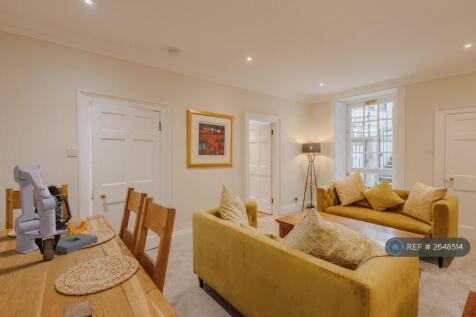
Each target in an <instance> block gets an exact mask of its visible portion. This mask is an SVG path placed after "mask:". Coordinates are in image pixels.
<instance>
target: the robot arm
mask: <svg viewBox="0 0 476 317" xmlns="http://www.w3.org/2000/svg"><path fill="white" fill-rule="evenodd" d="M12 173H13V181H14V182H15V183H18V186H19V195H20V207H21V208H20V209H21V214H20V215H19V216H17V218H16V219H15V220H14V225H13V226H14V227H13V228H14V229H13V230H14V233H15V234H17V236H16V237H15V242H16V244H15V247H16V249H13V251H14V252H17V253H21V254H27V253H31V252H33V251H37V250H39V252H40V255H41V256H43V239H48V238H54V253H56V252H57V251H56V247H57V244H58V241H59V239H61V236H62V235H67V229H65V230H56V225H55V209H56V208H57V205H58V203H57V199H56V198H55V197H54V196H51V194H50V192H49V190H48V186H46V185H44V184H43V180H42V178H41V177H42V175H43V167H42V166H41V164H30V165H28V164H27V165H15V166H14V168H13V172H12ZM34 199H36V200H35V201H36V202H37V205H36V204H35V203H34ZM35 207H37V210H38V214H36V213H34V211H35ZM33 218H35V219H33ZM38 231H40V233H39V234H38Z"/></svg>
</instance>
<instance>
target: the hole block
mask: <svg viewBox="0 0 476 317" xmlns="http://www.w3.org/2000/svg"><path fill="white" fill-rule="evenodd" d="M97 241H98V242H99V236H96V235H91V234H87V233H77V234H74V235H71V236H68V237H67V236H65V237H62V238H60V239H59V241H58V244H57V247H56V252H59V253H62V254H65V255H66V254H68V255H69V254H71V253H73V252H76V251H78V250H81V249H83V248H82V247H84V246H86V247H88V246H87V245H89V246H91V245H93V244H92V243H94V244H96V243H98V242H97ZM95 242H96V243H95ZM90 244H91V245H90ZM84 248H85V247H84Z"/></svg>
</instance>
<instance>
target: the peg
mask: <svg viewBox="0 0 476 317" xmlns="http://www.w3.org/2000/svg"><path fill="white" fill-rule="evenodd" d="M42 246H43V254H42V261H50V260H53V259H54V258H55V252H54V237H47V238H43V239H42Z"/></svg>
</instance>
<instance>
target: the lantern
mask: <svg viewBox="0 0 476 317" xmlns="http://www.w3.org/2000/svg"><path fill="white" fill-rule="evenodd" d="M47 188H48V190H49V192H50V194H51V196H54V197H55V198H56V199H57V203H58V205H57V208H56V209H55V225H56V230H65V229H67V226H69V225H68V224H67V223H69V222H70V220H71V219H72V218H73V215H72V212H71V207H70V204H69V198H68V197H69V195H68V194H65V196H63V194H62V193H61V191H59V188H58V186H57V185H49V186H47ZM34 199H35V198H34ZM35 201H36V199H35ZM63 203H64V204H65V209H66V214H65V215H62V211H63V210H62V207H63ZM36 205H37V201H36V203H35V206H34V213H36V214H38V210H37V207H36ZM66 216H67V218H66V219H65V220H64V217H66ZM33 219H35V218H33ZM38 233H40V231H38Z"/></svg>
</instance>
